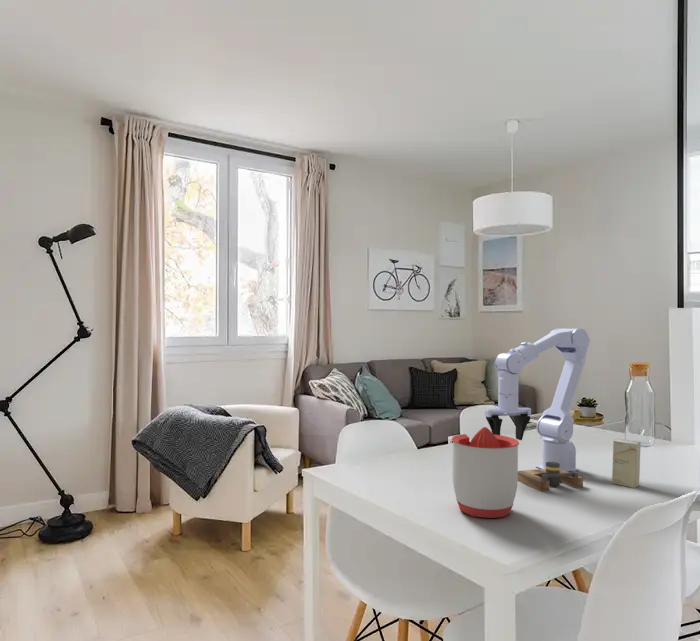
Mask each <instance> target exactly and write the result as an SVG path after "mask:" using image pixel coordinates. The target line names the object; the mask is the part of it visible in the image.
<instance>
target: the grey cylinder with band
mask: <svg viewBox="0 0 700 641" xmlns="http://www.w3.org/2000/svg"><path fill="white" fill-rule="evenodd" d="M549 474H560V464H559V463H556V462H546V475H549ZM548 481H549V488H550V487H551V488H558V487H560V483H561V482H560V477H555V478H548Z"/></svg>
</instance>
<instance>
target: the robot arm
mask: <svg viewBox="0 0 700 641" xmlns="http://www.w3.org/2000/svg"><path fill="white" fill-rule="evenodd" d="M590 341H591V339H590V336H589V334H588V332H587V331H586V330H585V329H584V328H582V327H581V328H580V327H578V328H562V327H557V328H555V329H553V330H550V332H549V333H548V334H546V335H545V336H543V337H541V338H540V339H537V341H535V342H528V341H527V342H526V341H523V342H521V343H520V345H519V346H518V347H515V348H511V349H509V351H508V352H501V353H499V354H498V355H497V356H496V358H495V360H494V362H493V365H494V369H495V371H496V375H497V379H498V383H497V384H498V385H497V387H498V389H497V390H498V391H497V392H498V394H497V397H498V398H497V401H498V404H497V407H495V408H488V409H487V408H486V409H484V416H485V419H486V421H487V423H488V425H489V427H490V431H491V432H492V433H493V435H501V429H502V428H501V427H502V423H503V418H500V417H504V416H505V417H506V416H507V417H508V416H509V417H510V416H513V421H514V425H515V439H516V440H518V441H523V437H524V434H525V430H526V428H527V426H528V424H529V422H530V421H531V415H532V408H531V407H519V377H520V376H519V373H521V372H522V371H523V369H524V367H525V366H526V365H529V364H530V363H532V362H534V361H536V360H538V359H539V356H540V353H544V352H545V351H547V350H550V349H552V348H556V350H557V351H558V352H559V353H560V355H561V356H562V357H563V358H564V360H565V361H564V364H563V368H562V370H561V374H560V377H559V380H558V383H557V386H556V390H555V393H554V396H553V400H552V403H551V406H550V407H548V408H547V409H544V411H542V415H541V416H540V418H539V419H538V420H537V423H536V431H537V433H538V435H539V436H540V439H541V464H536V465H535V467H536V468H538V469H546V462H556V463H559V464H560V469H561V470H564V471H566V472H569V473H571V472H573V471H576V472H578V469H577V468H576V465H577V464H576V461H577V459H576V458H577V457H576V454H577V453H576V452H577V450H576V446H575V443H574V442H573V441H572V440H571V439H572V437H573V434H574V423H575V420H574V417H573V416H572V415H571V414H570V410H571V407H572V404H573V402H574V398H575V395H576V393H577V392H576V391H577V389H578V388H577V387H578V386H579V381H580V378H581V377H582V376H581V375H582V373H583V370H584V366H585V363H586V360H587V359H586V356H587V352H588V348H589V345H590V343H591V342H590Z"/></svg>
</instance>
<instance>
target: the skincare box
mask: <svg viewBox="0 0 700 641" xmlns="http://www.w3.org/2000/svg"><path fill="white" fill-rule="evenodd" d="M612 443H613V446H612V449H613V450H612V475H611V476H612V477H611V480H612V481H611V482H612V484H613V485H614V484H615V485H618V486H619V485H620V486H623V487H629V488H632V489H635V488H638V487H639V486H640V474H641V472H640V470H641V469H640V468H641V445H642V444H641V441H636V440H630V439H629V440H628V439H623V438H616V439H614V440H613V441H612Z"/></svg>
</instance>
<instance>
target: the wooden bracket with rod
mask: <svg viewBox="0 0 700 641" xmlns="http://www.w3.org/2000/svg"><path fill="white" fill-rule="evenodd" d="M555 477H560V483H561V484H564V485H566V486H569V487H572V488H573V489H574V488H583V487H584V477H582V476H579V472H578V471H570V472H566V471H564V470H561V469H560V474H549V475H546V469H540V468H538V469H537V468H536V469H527V470H526V469H525V470H518V481H517V482H519V483H521V484H523V485H526V486H528V487H530V488H532V489H534V490H536V491H539V492H546V491H550V486H549V481H548V478H555Z"/></svg>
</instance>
